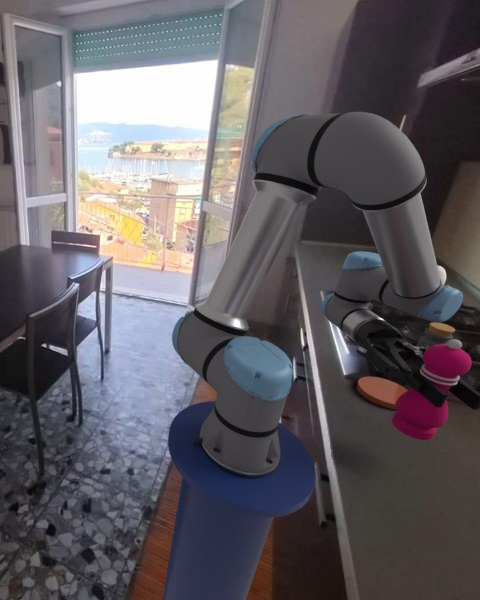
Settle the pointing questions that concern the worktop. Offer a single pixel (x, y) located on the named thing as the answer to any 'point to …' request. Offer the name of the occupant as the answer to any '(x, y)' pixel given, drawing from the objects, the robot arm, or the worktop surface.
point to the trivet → (380, 391)
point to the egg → (442, 274)
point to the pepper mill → (443, 373)
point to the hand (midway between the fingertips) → (460, 402)
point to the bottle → (436, 335)
